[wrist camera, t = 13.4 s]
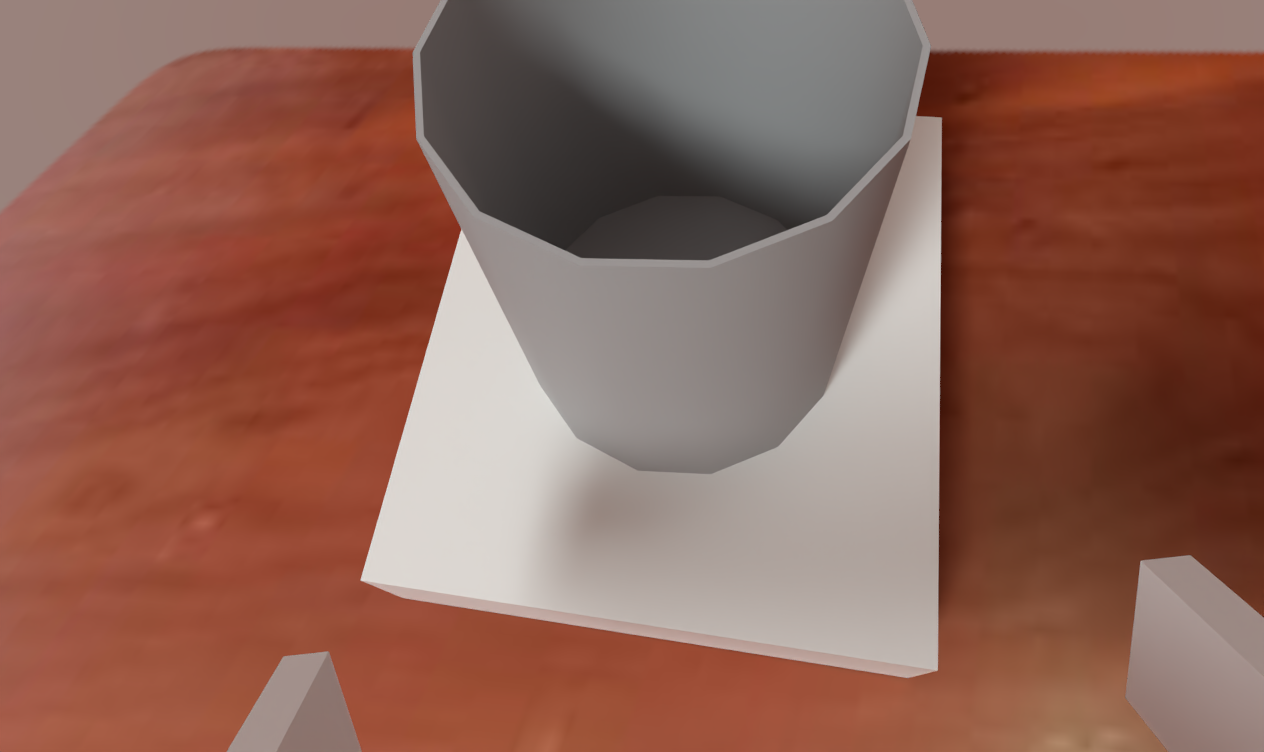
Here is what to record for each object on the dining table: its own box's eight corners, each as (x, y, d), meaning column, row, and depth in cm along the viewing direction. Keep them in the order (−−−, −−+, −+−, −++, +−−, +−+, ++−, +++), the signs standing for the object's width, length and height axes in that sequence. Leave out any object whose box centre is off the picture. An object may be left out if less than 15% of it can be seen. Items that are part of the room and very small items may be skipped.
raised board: (918, 179, 27) (941, 117, 24) (908, 678, 21) (937, 670, 18) (520, 152, 29) (500, 92, 26) (402, 597, 23) (360, 580, 20)
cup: (901, 360, 21) (1046, 80, 12) (646, 538, 20) (591, 378, 11) (711, 159, 24) (711, -182, 15) (481, 301, 23) (331, 22, 14)
